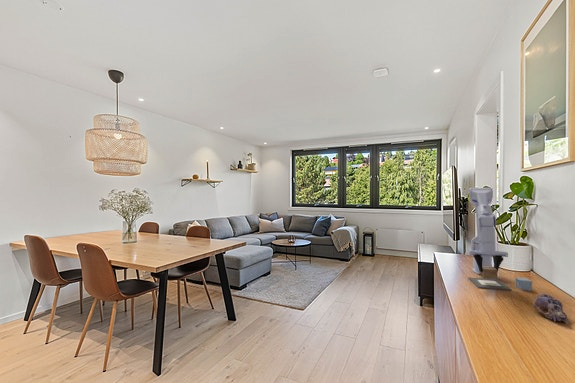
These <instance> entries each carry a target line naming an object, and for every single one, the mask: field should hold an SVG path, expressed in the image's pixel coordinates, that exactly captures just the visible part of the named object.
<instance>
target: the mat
mask: <svg viewBox="0 0 575 383" xmlns="http://www.w3.org/2000/svg"><path fill="white" fill-rule="evenodd" d="M468 280H470V282H471V283H472V284H473V285H474V286H475V287H476V288H477V289H481V290H482V289H483V290H485V289H486V290H494V291H495V290H498V291H509V292H513V289H512V288H510V287H509V286H508V285H507V284H505V283H504V282H502V281H501V280H500V279H493V278H483V277H468Z"/></svg>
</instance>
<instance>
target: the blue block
mask: <svg viewBox="0 0 575 383" xmlns="http://www.w3.org/2000/svg"><path fill="white" fill-rule="evenodd" d="M515 287H516V288H517V289H518V290H522V291H531V290H532V291H533V281H532V280H530V279H529V278H524V277H515Z"/></svg>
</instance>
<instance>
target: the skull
mask: <svg viewBox="0 0 575 383" xmlns="http://www.w3.org/2000/svg"><path fill="white" fill-rule="evenodd" d="M533 304H534V305H533V307H534V309H535V310H537V311H538V312H540V314H542V315H544V317H545V318H547V319H550V320H551V321H552V320H553V321H554V322H556V320H557V321H559V322H561V321H562V322H564V323H565V325H568V315H567V313H566V312H564V308H563V304H562V302H561V301H560V300H559V299H557V298H555V297H553V296H551V295H549V294H546V293H542V294H540V295H538V296H537V297H536V299H535V300H534V302H533Z"/></svg>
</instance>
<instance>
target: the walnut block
mask: <svg viewBox="0 0 575 383" xmlns="http://www.w3.org/2000/svg"><path fill="white" fill-rule="evenodd" d="M482 268H483V272H480V274H479V275H480V276H481V278H484V279H498V278H499V277H498V273H497V269H496V268H494V266H492V267H488V266H482ZM498 280H499V279H498Z"/></svg>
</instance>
